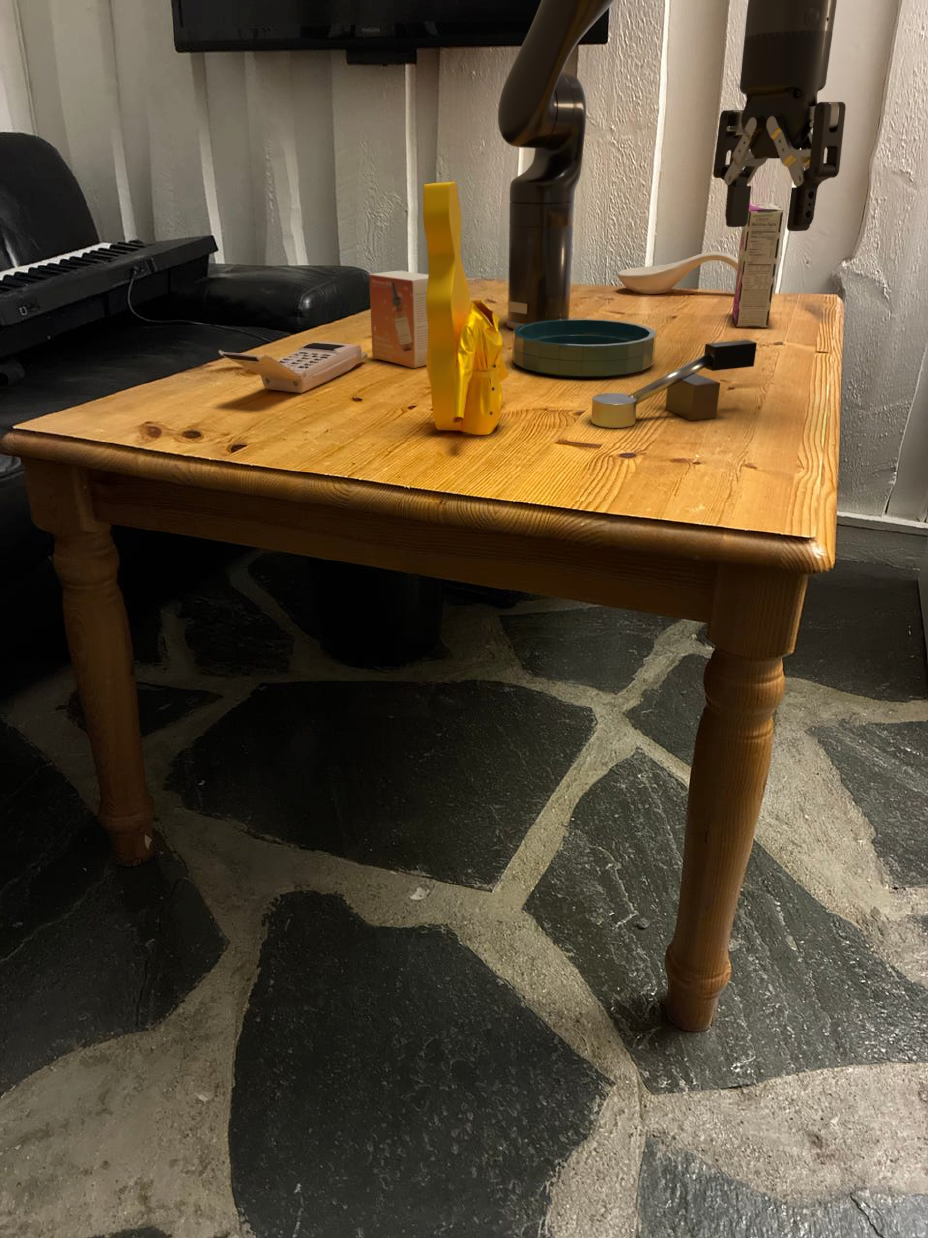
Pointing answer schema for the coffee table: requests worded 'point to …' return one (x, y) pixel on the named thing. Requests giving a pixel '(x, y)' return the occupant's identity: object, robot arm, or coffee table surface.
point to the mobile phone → (302, 365)
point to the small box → (399, 317)
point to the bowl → (583, 347)
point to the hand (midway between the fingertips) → (765, 228)
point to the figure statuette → (458, 326)
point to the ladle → (670, 382)
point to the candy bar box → (757, 265)
